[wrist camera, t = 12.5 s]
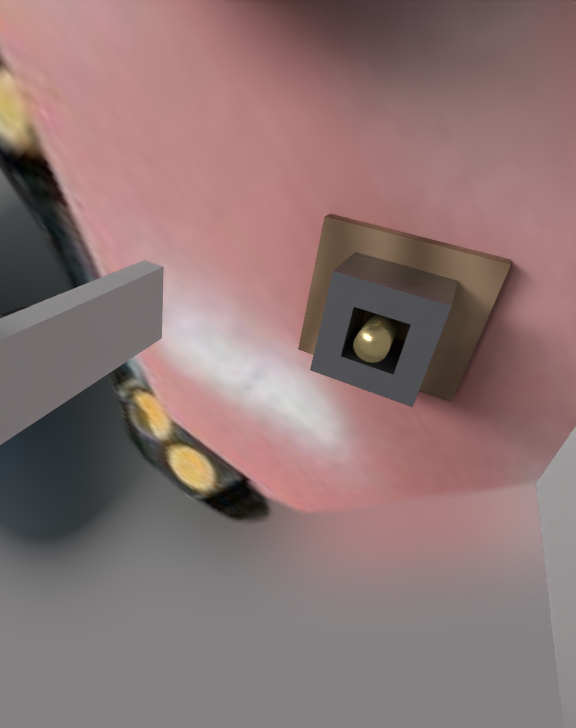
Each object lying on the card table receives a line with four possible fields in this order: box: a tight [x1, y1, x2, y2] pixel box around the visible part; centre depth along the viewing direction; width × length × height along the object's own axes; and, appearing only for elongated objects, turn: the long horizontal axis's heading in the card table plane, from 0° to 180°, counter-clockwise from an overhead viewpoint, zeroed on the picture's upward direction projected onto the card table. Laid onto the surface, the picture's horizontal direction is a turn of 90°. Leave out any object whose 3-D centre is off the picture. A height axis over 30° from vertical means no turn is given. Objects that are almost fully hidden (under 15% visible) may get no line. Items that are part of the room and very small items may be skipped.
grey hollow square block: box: [310, 252, 458, 407], centre depth 34 cm, size 8×8×6 cm
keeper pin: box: [354, 313, 402, 362], centre depth 33 cm, size 2×2×7 cm
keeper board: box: [298, 214, 511, 402], centre depth 37 cm, size 14×12×2 cm
